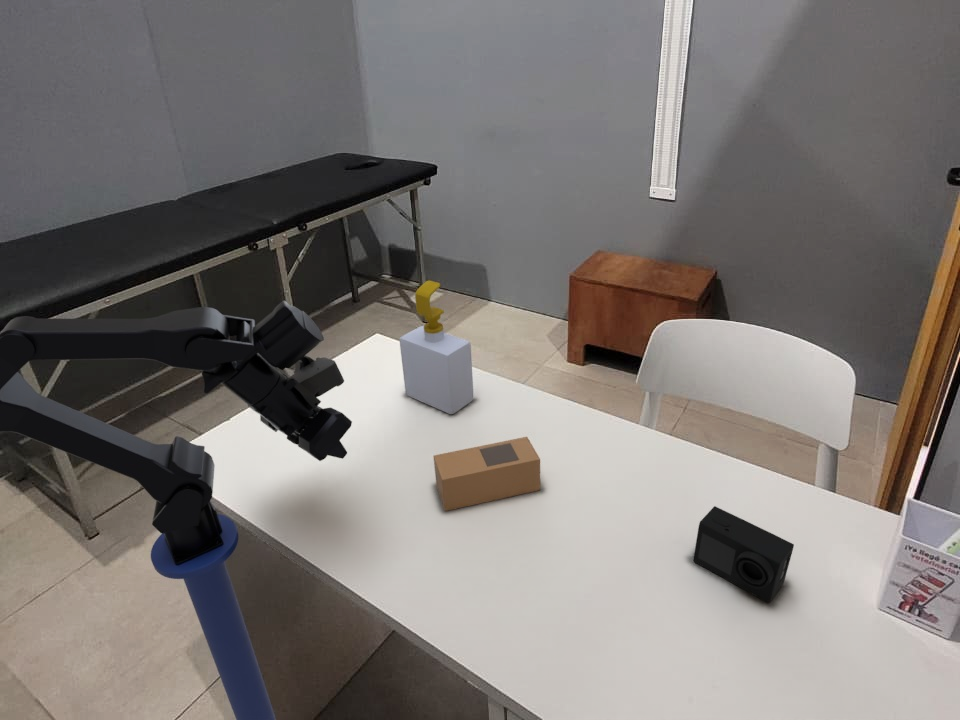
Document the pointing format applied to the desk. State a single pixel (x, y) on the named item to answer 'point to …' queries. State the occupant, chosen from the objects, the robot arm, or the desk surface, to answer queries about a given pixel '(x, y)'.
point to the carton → (487, 473)
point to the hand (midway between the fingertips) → (344, 455)
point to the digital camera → (742, 553)
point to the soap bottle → (436, 360)
